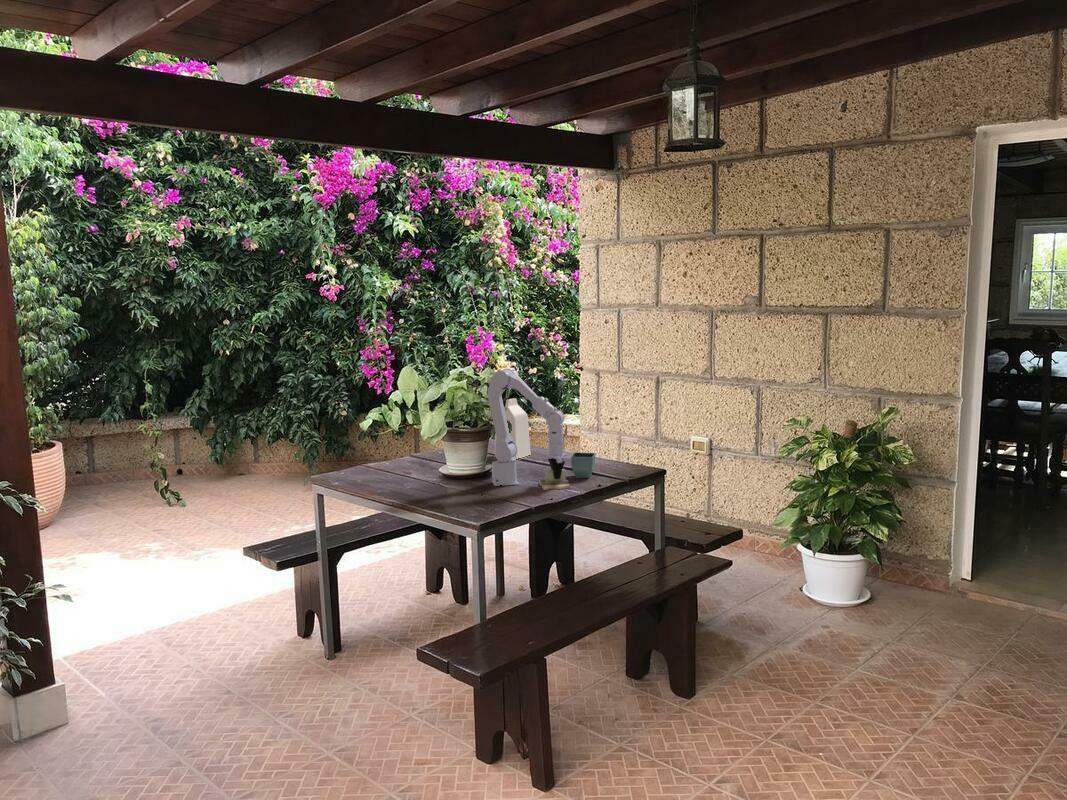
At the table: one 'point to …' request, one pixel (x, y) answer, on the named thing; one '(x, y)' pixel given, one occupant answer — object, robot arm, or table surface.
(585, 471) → the flower pot
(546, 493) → the table surface
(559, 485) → the track board
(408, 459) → the table surface
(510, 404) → the milk
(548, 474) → the pale green block
